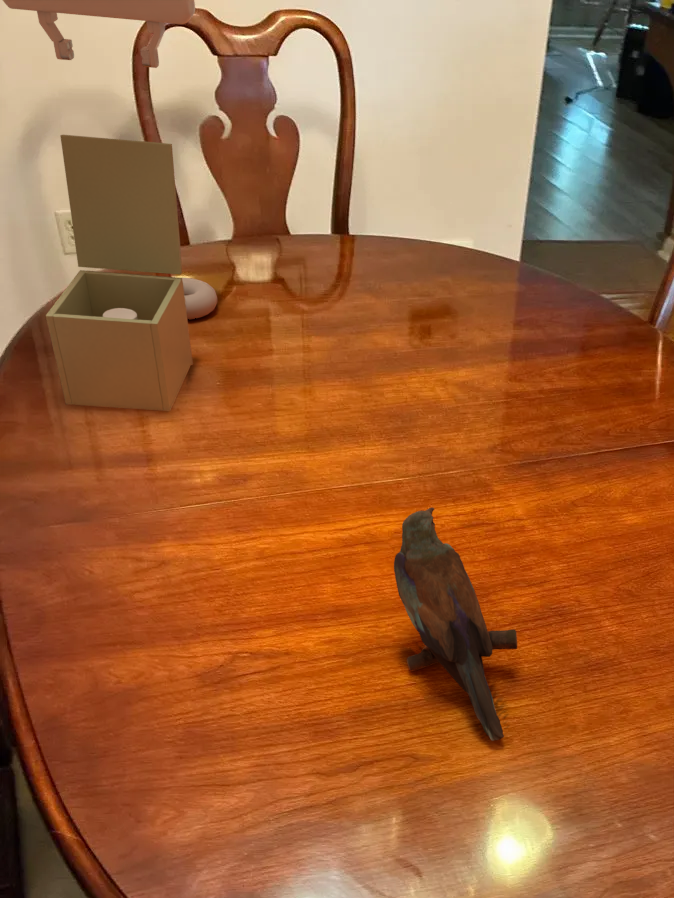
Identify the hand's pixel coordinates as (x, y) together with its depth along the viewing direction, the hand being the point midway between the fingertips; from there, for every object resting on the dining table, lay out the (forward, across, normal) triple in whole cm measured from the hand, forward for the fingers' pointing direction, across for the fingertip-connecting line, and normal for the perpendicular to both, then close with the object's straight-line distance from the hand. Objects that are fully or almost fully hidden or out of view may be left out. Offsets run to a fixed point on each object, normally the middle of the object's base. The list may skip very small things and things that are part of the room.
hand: (108, 62), depth 108 cm
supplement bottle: (+35, 0, +10) cm, 36 cm away
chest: (+35, 0, +11) cm, 37 cm away
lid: (+15, 0, +3) cm, 15 cm away
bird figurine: (+36, -42, +58) cm, 80 cm away
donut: (+36, -1, -15) cm, 39 cm away
